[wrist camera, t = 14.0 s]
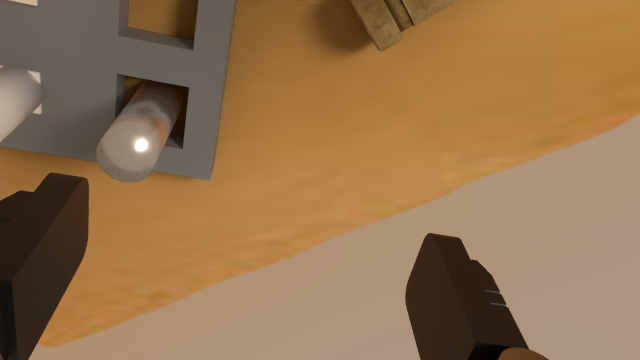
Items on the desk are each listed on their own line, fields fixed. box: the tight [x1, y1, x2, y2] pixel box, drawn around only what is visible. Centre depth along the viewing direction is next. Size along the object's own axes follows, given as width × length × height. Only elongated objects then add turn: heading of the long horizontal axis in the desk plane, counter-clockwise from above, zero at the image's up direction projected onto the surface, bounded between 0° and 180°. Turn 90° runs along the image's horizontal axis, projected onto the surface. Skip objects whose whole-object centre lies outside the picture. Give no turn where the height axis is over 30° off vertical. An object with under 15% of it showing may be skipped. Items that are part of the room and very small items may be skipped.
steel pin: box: [96, 80, 183, 182], centre depth 38 cm, size 4×4×10 cm
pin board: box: [0, 0, 237, 180], centre depth 33 cm, size 18×26×10 cm
